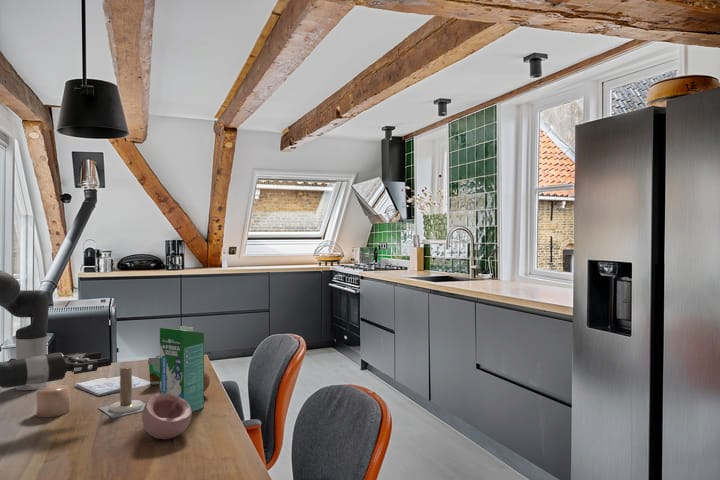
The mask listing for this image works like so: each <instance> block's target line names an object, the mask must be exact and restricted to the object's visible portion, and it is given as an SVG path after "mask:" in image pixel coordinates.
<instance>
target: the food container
mask: <svg viewBox="0 0 720 480" xmlns="http://www.w3.org/2000/svg"><path fill="white" fill-rule="evenodd" d="M147 364H148V370H149V371H148V372H149V382H150V385H149V386H150V387H160V355H157V356H156V357H148V359H147Z"/></svg>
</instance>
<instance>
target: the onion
mask: <svg viewBox="0 0 720 480" xmlns="http://www.w3.org/2000/svg"><path fill="white" fill-rule="evenodd" d="M210 382H211V379H210V375H209V373H208V372H207V371H206V370H204V392H206V391H207V389H208V388H209V386H210V384H211V383H210Z"/></svg>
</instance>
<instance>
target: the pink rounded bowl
mask: <svg viewBox="0 0 720 480" xmlns="http://www.w3.org/2000/svg"><path fill="white" fill-rule="evenodd" d="M145 403H146V405H145V407H144V409H143V412H141V413H142V415H141V421H142V425H143V428H144V429H145V431H146V432H147V433H148V435H150V436H152V437H153V438H155V439H160V440H170V439H174V438H175V437H177V436H180V435H181V434H182V433H183V432H184V431H185V430H186V429H187V427H188V426H189V424H190V422H191V419H192V415H193V414H192V413H193V412H192V410H191V407H190V405H189V404H188V403H187V402H186V401H185V400H184V399H182V398H181V397H179V396H176V395H172V394H160V393H159V394H157V395H153V396H152V397H150V398H149V399H147V401H146V402H145Z"/></svg>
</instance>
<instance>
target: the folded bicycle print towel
mask: <svg viewBox="0 0 720 480" xmlns="http://www.w3.org/2000/svg"><path fill="white" fill-rule="evenodd" d="M74 385H75V386H74V387H76V388H78V389H80V390H83V391H86V392H88V393H90V394H92V395H95V396H97V397H103V396H107V395H111V394H116V393H120V375H118V376H114V377H109V378H106V377H100V378H97V379H91V380H87V381H82V382H75V383H74ZM148 386H150V380H149V381H148V380H146V379H142V378H141V377H137V376H135V375H132V390H134V389H139V388H142V387H148Z"/></svg>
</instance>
